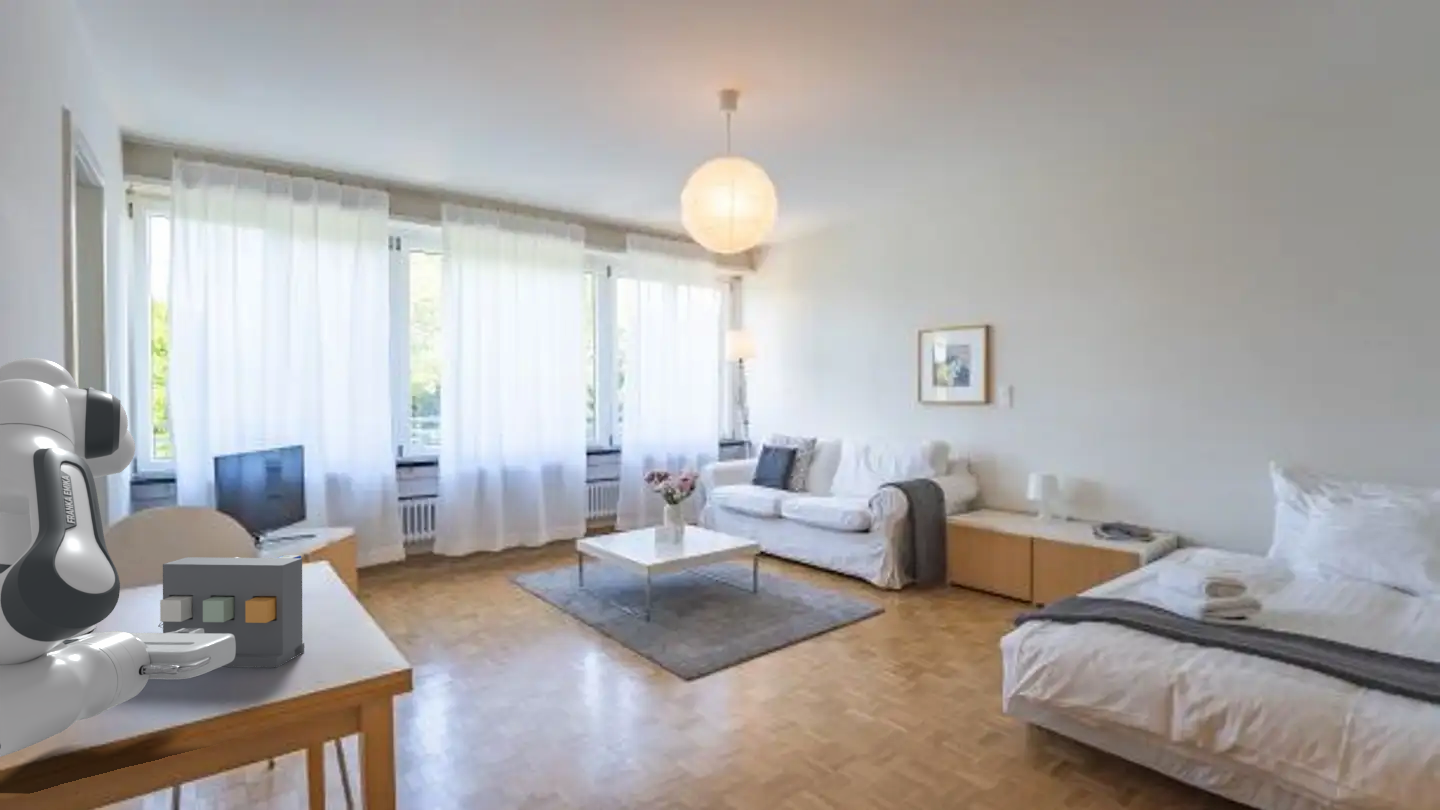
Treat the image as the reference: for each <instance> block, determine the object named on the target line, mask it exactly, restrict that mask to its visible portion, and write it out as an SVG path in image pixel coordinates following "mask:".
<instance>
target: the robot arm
mask: <svg viewBox="0 0 1440 810" xmlns="http://www.w3.org/2000/svg"><path fill="white" fill-rule="evenodd" d="M126 413H127V412H126V410H125V408H124V407H123V406H122V404H121V400H120V399H119V398H118V397H116V396H115V395H114V394H112V393H111V392H107V391H102V390H99V389H96V388H95V387H92V386H90V387H88V388H85V387H84V388H79V386H78V385H77V382H76V381H75V378H73V376H72V375H71V373H70V372H69V371H68V370H67V369H66V368H65V367H64V366H62V365H60V364H58V363H57V362H54V361H52V360H49V359H46V358H41V357H23V358H18V359H14V360H10V361H8V362H6V363H5V364H2V365H1V366H0V758H1V757H3V756H4V757H5V756H8V755H10V754H13V753H15V752H19V751H21V750H24V749H26V748H29V747H31V746H33V745H36V744H38V743H41V742H43V741H44V740H47V739H49V738H51V737H54V736H56V735H58V734H59V733H62V732H63V731H65V730H67V729H68V728H69V727H71V726H72V725H73V724H75V723H76V722H77V721H83V720H87V719H90V718H92V717H96V716H98V715H100V714H102V713H103V712H106V711H108V710H110V709H113V708H114V707H117V706H119V705H121V704H123V703H124V702H127V701H129V700H131V699H134V698H135V697H136V696H138V695H139V694H140V693H141V692H142V691H143V689H144V688H145V687H146V685H147V683H148V681H149V680H184V679H185V680H186V679H191V678H195V677H198V676H201V675H204V674H206V673H210V672H211V671H215V670H217V669H219V668H223V667H222V666H224V665H226V664H228V663H230V662H232V661H233V660H234V658H235V653H236V642H235V637H234V635H233V634H229V633H225V634H222V633H204V629H199V628H198V629H187V628H182V629H180V630H177V631H175V632H168V633H163V632H125V631H121V630H120V631H119V630H112V631H111V630H110V631H105V632H94V633H93V632H92V633H89V632H91V631H93V630H94V629H95V628H96V627H97V626H96V625H97V624H98V623H100V622H103V621H104V620H105V619H106V618H107V617H108V616H110V615H111V614H112V612H113V611H114V609H115V607H116V606H117V604H118V601H119V598H120V592H121V591H120V590H121V583H120V582H121V581H120V576H119V573H118V571H117V568H116V565H115V564H114V560H112V558H111V555H110V553H109V551H108V548H107V545H106V539H105V535H104V534H105V533H104V529H103V523H102V518H101V517H102V516H101V510H100V504H99V498H98V492H97V487H96V483H95V478H96V479H97V478H100V477H107V476H111V475H115V474H120V473H122V472H123V471H124V470H126V468H127V467H128V466H129V465H130V464H131V462H132V461H133V459H134V456H135V453H136V452H135V451H136V443H135V439H134V437H133V435H132V434H131V432H130V431H129V430H128V426H129V421H128V416H127V414H126Z"/></svg>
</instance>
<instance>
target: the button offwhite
mask: <svg viewBox="0 0 1440 810" xmlns="http://www.w3.org/2000/svg"><path fill="white" fill-rule="evenodd" d="M159 601H160V604H159V606H160V608H159V610H160V611H159V613H160V616H159V617H160V618H159V619H160V620H159V622H160V621H161V622H162V621H166V622H182V621H184V620H187V619H189V618H192V617H193V595H174V596H171V597H168V598H165V599H163V598H162V599H160V600H159Z"/></svg>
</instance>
